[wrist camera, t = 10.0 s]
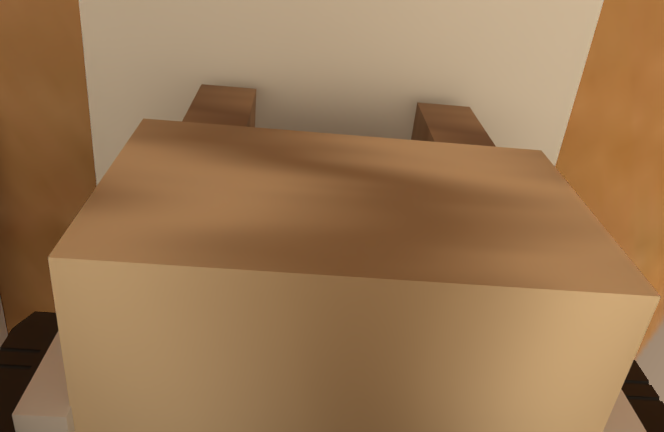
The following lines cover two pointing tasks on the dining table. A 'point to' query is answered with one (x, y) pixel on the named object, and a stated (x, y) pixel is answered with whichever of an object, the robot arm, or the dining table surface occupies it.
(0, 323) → the gray square block
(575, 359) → the stool
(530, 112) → the mat
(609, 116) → the dining table surface
